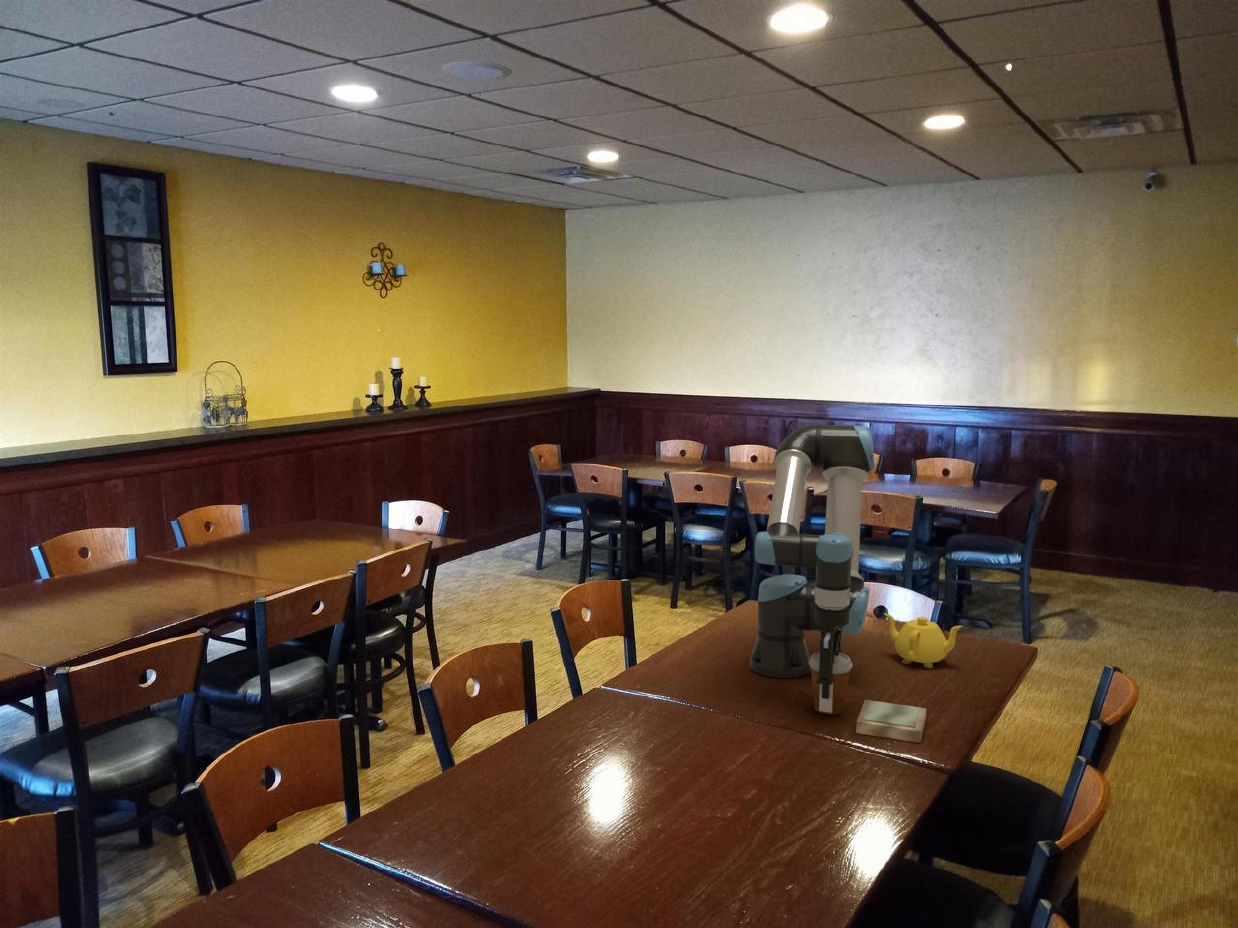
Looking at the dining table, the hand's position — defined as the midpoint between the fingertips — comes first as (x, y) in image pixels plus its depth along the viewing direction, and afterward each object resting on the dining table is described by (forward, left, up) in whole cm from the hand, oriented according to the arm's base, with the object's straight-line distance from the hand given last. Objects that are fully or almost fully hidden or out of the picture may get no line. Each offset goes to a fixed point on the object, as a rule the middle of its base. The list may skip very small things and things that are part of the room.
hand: (829, 703), depth 209 cm
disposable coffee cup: (0, 0, -1) cm, 1 cm away
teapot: (+16, +40, -2) cm, 43 cm away
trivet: (+14, -4, -1) cm, 15 cm away
